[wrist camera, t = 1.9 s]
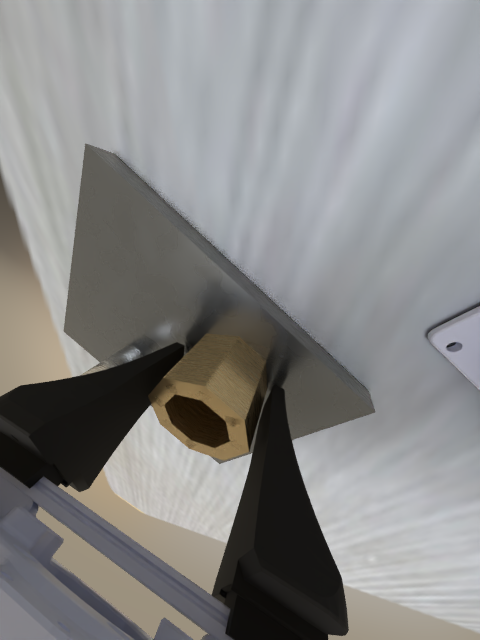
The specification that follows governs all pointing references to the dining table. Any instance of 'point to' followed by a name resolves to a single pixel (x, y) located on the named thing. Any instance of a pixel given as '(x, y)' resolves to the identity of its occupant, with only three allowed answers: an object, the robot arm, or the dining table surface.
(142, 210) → the shaft stand
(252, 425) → the bronze hub
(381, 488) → the dining table surface
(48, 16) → the dining table surface
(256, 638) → the robot arm
